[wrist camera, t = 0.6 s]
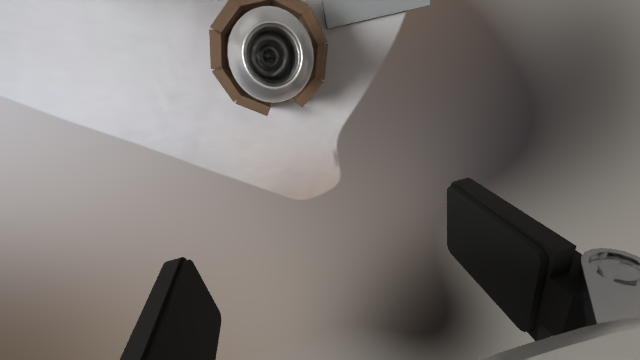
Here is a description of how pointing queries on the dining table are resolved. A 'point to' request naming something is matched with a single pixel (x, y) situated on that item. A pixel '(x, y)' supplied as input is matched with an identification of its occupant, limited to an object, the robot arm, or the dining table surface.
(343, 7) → the rubber mat
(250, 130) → the dining table surface
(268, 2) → the ring holder
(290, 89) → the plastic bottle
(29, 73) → the dining table surface
